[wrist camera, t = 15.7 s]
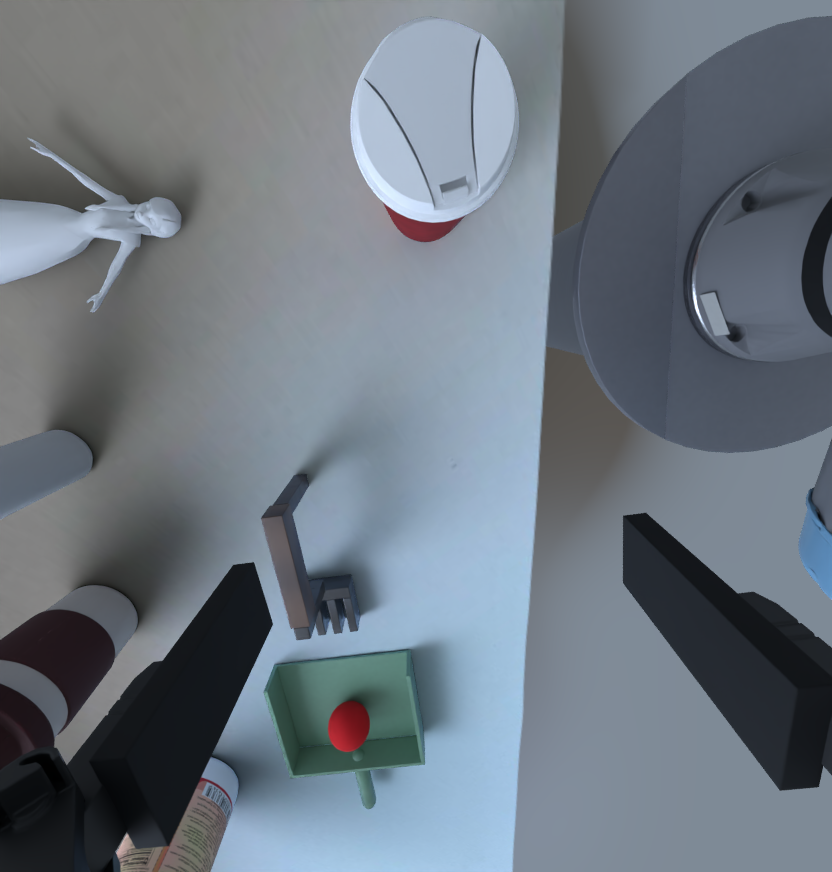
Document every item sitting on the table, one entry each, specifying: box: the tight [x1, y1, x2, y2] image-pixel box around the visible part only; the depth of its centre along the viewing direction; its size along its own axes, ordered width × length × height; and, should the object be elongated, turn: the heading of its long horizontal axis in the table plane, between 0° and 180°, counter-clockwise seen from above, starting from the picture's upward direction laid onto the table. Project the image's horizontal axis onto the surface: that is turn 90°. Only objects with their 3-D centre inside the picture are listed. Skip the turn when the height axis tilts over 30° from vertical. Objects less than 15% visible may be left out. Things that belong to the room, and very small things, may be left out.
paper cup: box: [350, 17, 519, 242], centre depth 24 cm, size 8×8×14 cm
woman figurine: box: [0, 137, 181, 313], centre depth 29 cm, size 12×4×18 cm
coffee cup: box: [0, 585, 138, 770], centre depth 34 cm, size 10×10×15 cm
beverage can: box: [0, 430, 93, 519], centre depth 30 cm, size 5×5×12 cm
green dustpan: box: [264, 650, 425, 809], centre depth 44 cm, size 20×15×3 cm
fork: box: [261, 474, 360, 640], centre depth 35 cm, size 16×6×8 cm, turn 7°
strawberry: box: [328, 701, 370, 752], centre depth 43 cm, size 4×4×4 cm
